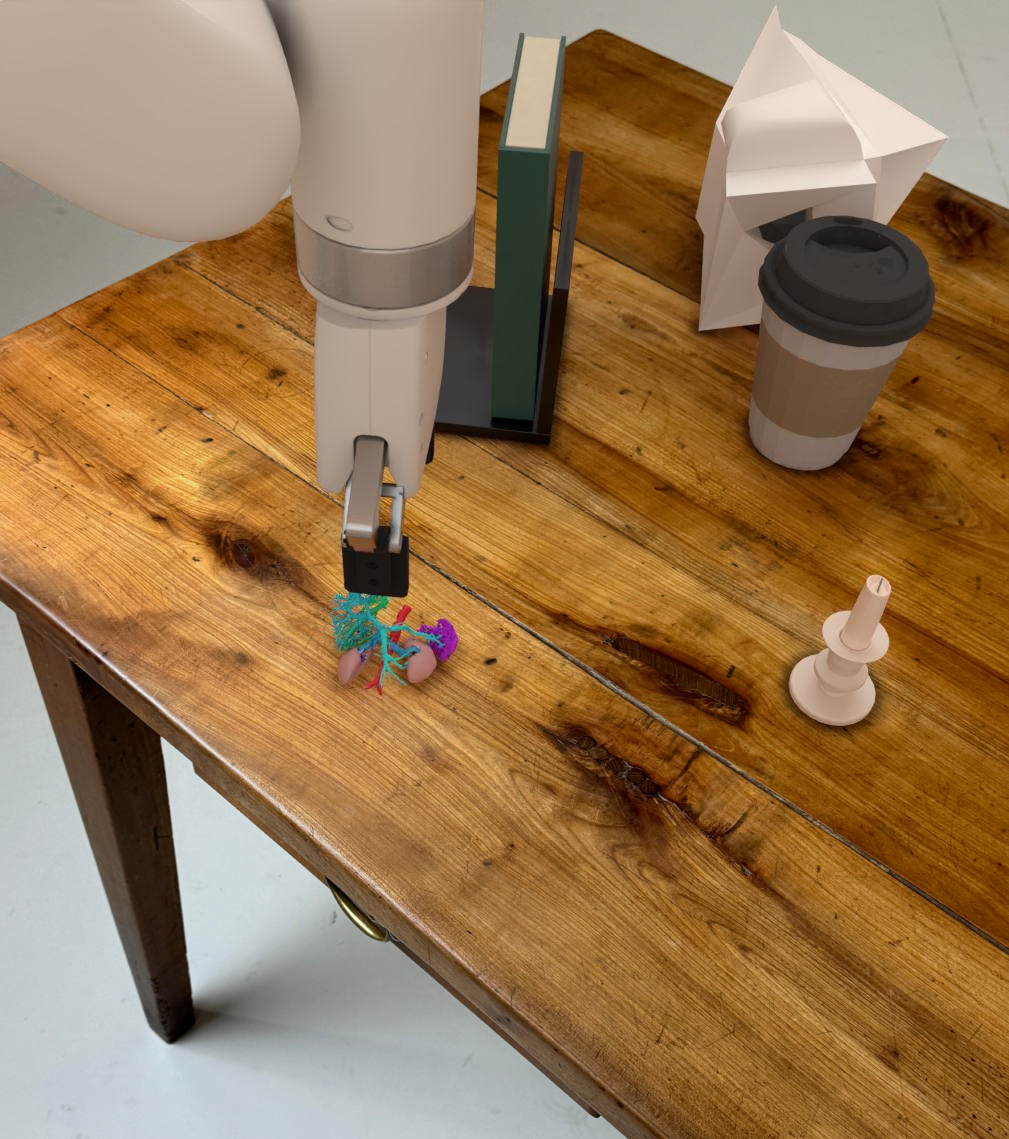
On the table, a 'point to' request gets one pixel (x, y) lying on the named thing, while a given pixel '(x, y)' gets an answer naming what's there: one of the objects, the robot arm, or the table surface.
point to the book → (525, 223)
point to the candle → (844, 661)
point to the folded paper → (796, 165)
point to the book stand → (472, 347)
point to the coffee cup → (831, 334)
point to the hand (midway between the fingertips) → (391, 521)
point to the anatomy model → (387, 641)
